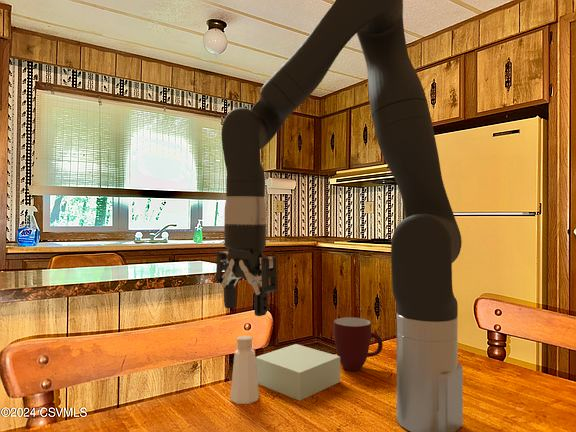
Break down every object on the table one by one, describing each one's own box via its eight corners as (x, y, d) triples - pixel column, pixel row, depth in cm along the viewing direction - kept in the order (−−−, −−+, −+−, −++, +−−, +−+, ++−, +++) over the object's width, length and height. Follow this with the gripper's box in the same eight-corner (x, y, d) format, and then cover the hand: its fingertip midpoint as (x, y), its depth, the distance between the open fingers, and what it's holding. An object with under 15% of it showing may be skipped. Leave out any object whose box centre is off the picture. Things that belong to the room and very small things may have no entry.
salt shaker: (233, 406, 73) (233, 343, 73) (226, 394, 78) (226, 334, 78) (263, 401, 75) (263, 339, 75) (254, 389, 80) (254, 331, 80)
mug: (375, 360, 97) (375, 316, 97) (387, 373, 89) (387, 325, 89) (329, 362, 95) (329, 317, 95) (338, 375, 87) (338, 327, 87)
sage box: (340, 381, 84) (340, 356, 84) (299, 400, 75) (299, 372, 75) (295, 366, 92) (295, 343, 92) (254, 382, 84) (254, 357, 84)
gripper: (287, 222, 74) (287, 314, 75) (236, 221, 84) (236, 302, 85) (255, 223, 69) (255, 322, 69) (205, 221, 79) (204, 308, 79)
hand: (244, 311), depth 77 cm, fingers open, 8 cm apart
